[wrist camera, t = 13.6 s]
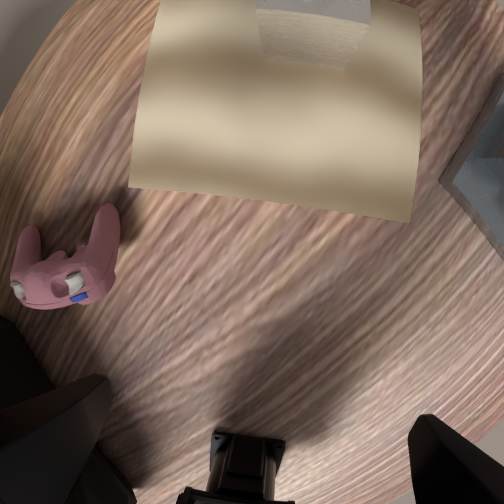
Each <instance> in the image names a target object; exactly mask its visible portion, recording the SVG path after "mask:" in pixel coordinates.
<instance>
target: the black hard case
mask: <svg viewBox="0 0 504 504" xmlns="http://www.w3.org/2000/svg"><path fill="white" fill-rule="evenodd" d="M52 390H55V389H54V388H53V386H52V385H51V383H50V382H49V380H48V378H47V377H46V375H45V374H44V372H43V371H42V369H41V367H40V366H39V364H38V363H37V361H36V360H35V358H34V357H33V355H32V354H31V352H30V351H29V349H28V348H27V346H26V345H25V343H24V342H23V340H22V338H21V337H20V335H19V333H18V332H17V330H16V328H15V327H14V325H13V324H12V323H11V322H10V321H8V320H7V319H6V318H4V317H3V316H2V315H1V314H0V412H1V410H4V409H6V408H9V407H12V406H14V405H17V404H20V403H22V402H25V401H27V400H30V399H32V398H35V397H37V396H40V395H42V394H45V393H47V392H50V391H52ZM136 503H137V500H136V497H135V495H134V492H133V489H132V487H131V485H130V484H129V483H128V482H127V481H126V480H125V479H124V478H123V477H122V476H121V475H120V473H119V472H118V471H117V470H116V469H115V468H114V467H113V465H112V464H111V463H110V462H109V461H108V460H107V458H106V457H105V456H104V455H103V454H102V452H101V451H100V450H99V449H98V447H97V446H96V445H95V446H94V448H93V450H92V452H91V453H90V455H89V457H88V459H87V461H86V463H85V464H84V466H83V468H82V470H81V472H80V474H79V476H78V478H77V479H76V481H75V483H74V485H73V487H72V489H71V491H70V493H69V495H68V497H67V498H66V500H65V502H64V504H136Z"/></svg>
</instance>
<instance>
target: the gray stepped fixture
mask: <svg viewBox="0 0 504 504" xmlns="http://www.w3.org/2000/svg"><path fill="white" fill-rule="evenodd" d="M438 181H439V182H440V183H441V184H442V186H443V187H444V188H445V189H446V190H447V191H448V192H449V193H450V194H451V195H452V197H453V198H454V199H455V200H456V201H457V202H458V203H459V205H460V206H461V207H462V208H463V209H464V211H465V212H466V213H467V214H468V215H469V217H470V218H471V219H472V220H473V221H474V223H475V224H476V225H477V226H478V228H479V229H480V230H481V232H482V233H483V234H484V235H485V237H486V238H487V239H488V241H489V242H490V243H491V245H492V246H493V247H494V249H495V250H496V252H497V253H498V254H499V256H500V257H501V259H502V260H504V73H502V74H500V76H499V78H498V80H497V82H496V84H495V86H494V88H493V90H492V92H491V94H490V96H489V97H488V99H487V101H486V103H485V105H484V107H483V108H482V110H481V112H480V114H479V115H478V117H477V119H476V121H475V122H474V124H473V126H472V128H471V129H470V131H469V133H468V134H467V136H466V138H465V139H464V141H463V143H462V144H461V146H460V147H459V149H458V151H457V152H456V154H455V155H454V157H453V159H452V160H451V162H450V163H449V165H448V166H447V168H446V169H445V171H444V172H443V174H442V175H441V177H440V178H439V180H438Z"/></svg>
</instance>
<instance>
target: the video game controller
mask: <svg viewBox="0 0 504 504" xmlns="http://www.w3.org/2000/svg"><path fill="white" fill-rule="evenodd" d="M119 240H120V219H119V214H118V210H117V209H116V207H115V206H114V205H113V204H111V203H106V204H103V205H102V206H101V207H100V208H99V210H98V212H97V213H96V216H95V219H94V223H93V227H92V231H91V235H90V238H89V241H88V244H87V246H84V247H82V248H81V249H79V250H78V251H76V253H75V254H74V255H73V256H72V257H71V258H68V256H67V254H66V253H65V251H57V252H55V253H53V254H52V255H50V256H49V257H48V258H47V259H46V260H45V261H41V262H40V257H41V240H40V234H39V231H38V228H37V227H36V226H35V225H28V226H26V227H25V228H24V229H23V230H22V232H21V234H20V236H19V239H18V243H17V248H16V253H15V258H14V262H13V266H12V269H11V273H10V281H11V284H10V286H11V287H13V290H14V293H15V295H16V296H17V298H18V299H19V300H20V302H21V303H22V304H23V305H24V306H25V307H30V308H33V309H43V310H47V309H55V308H60V307H65V306H68V305H71V304H74V303H79V304H83V305H86V304H91V303H93V302H96V301H98V300H99V299H101V298H102V297H103V296H105V295H106V294H107V293H108V292H109V291H110V289H111V288H112V286H113V284H114V282H115V278H116V276H115V272H114V268H115V264H116V259H117V254H118V248H119Z"/></svg>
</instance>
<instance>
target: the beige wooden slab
mask: <svg viewBox="0 0 504 504" xmlns="http://www.w3.org/2000/svg"><path fill="white" fill-rule="evenodd" d="M256 1H257V0H161V2H160V6H159V9H158V13H157V17H156V20H155V24H154V28H153V32H152V36H151V41H150V45H149V49H148V54H147V58H146V63H145V68H144V73H143V78H142V84H141V89H140V95H139V101H138V107H137V114H136V121H135V128H134V136H133V144H132V153H131V162H130V173H129V185H128V187H129V188H143V189H155V190H167V191H178V192H189V193H199V194H209V195H218V196H227V197H236V198H245V199H253V200H261V201H269V202H277V203H284V204H291V205H299V206H306V207H312V208H319V209H326V210H332V211H339V212H345V213H351V214H357V215H363V216H369V217H375V218H381V219H386V220H392V221H397V222H403V223H408V224H410V219H411V213H412V207H413V200H414V193H415V186H416V178H417V169H418V160H419V149H420V136H421V119H422V44H421V29H420V17H419V10H418V9H416V8H413V7H410V6H407V5H404V4H401V3H397V2H394V1H391V0H370V10H371V26H370V28H369V29H368V31H367V33H366V34H365V36H364V38H363V39H362V41H361V43H360V44H359V46H358V48H357V50H356V51H355V53H354V55H353V56H352V58H351V60H350V61H349V63H348V65H347V66H346V68H345V70H342V69H336V68H331V67H325V66H318V65H312V64H305V63H297V62H289V61H279V60H268V59H263V53H262V47H261V40H260V34H259V28H258V22H257V16H256V10H255V7H256Z"/></svg>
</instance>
